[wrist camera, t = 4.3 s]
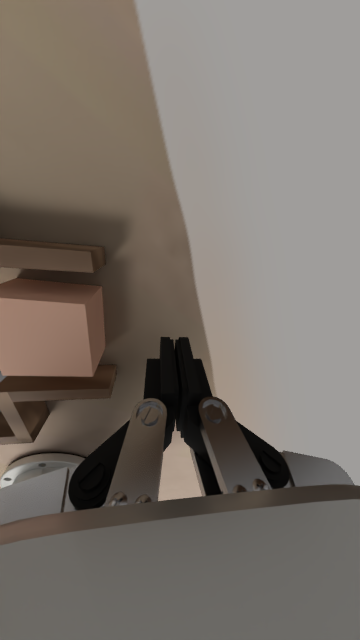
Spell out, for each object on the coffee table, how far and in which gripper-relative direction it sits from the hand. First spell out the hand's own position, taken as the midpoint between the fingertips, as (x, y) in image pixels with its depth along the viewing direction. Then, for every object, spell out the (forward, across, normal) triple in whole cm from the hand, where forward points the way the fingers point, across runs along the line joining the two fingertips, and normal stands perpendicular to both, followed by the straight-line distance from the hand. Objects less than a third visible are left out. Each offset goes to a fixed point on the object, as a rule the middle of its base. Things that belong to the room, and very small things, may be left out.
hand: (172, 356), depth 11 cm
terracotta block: (+6, +9, +1) cm, 10 cm away
